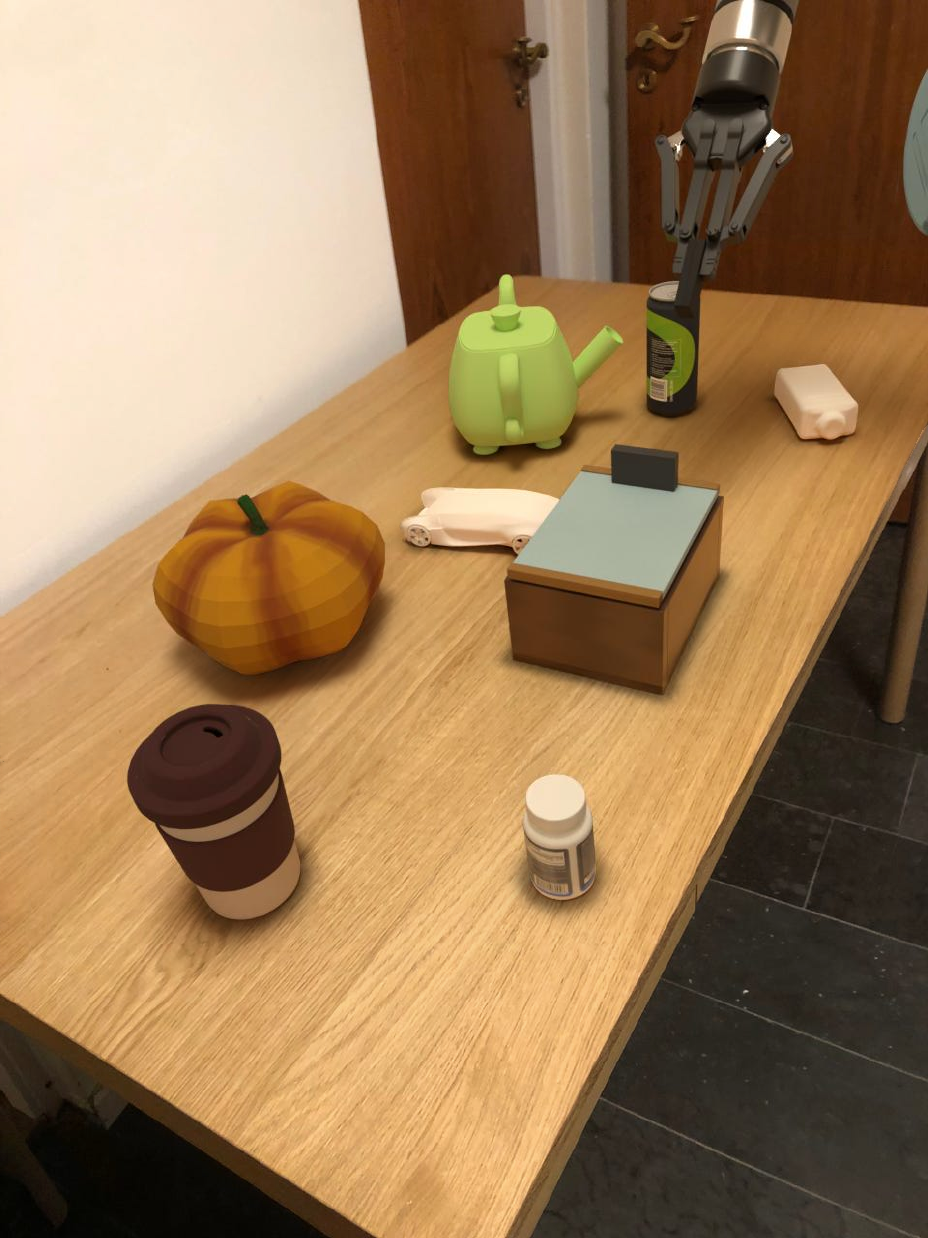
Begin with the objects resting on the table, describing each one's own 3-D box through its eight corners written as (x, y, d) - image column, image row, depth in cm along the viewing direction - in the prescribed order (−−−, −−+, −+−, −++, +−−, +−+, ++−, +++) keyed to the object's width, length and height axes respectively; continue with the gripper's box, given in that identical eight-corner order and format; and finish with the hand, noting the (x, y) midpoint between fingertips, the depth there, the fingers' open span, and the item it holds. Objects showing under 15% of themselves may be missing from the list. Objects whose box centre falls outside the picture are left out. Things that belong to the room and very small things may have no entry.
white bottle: (802, 448, 110) (806, 415, 107) (773, 399, 120) (776, 367, 117) (860, 442, 110) (865, 408, 107) (825, 393, 120) (830, 361, 117)
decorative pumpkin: (145, 697, 89) (87, 566, 80) (240, 560, 106) (201, 438, 96) (349, 714, 84) (312, 576, 75) (415, 567, 100) (392, 439, 91)
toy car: (399, 545, 104) (392, 509, 101) (426, 506, 110) (420, 472, 107) (560, 562, 98) (557, 525, 95) (579, 521, 104) (577, 484, 101)
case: (719, 575, 93) (724, 495, 88) (662, 695, 81) (663, 612, 76) (584, 551, 99) (580, 475, 94) (512, 659, 87) (503, 580, 82)
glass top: (719, 492, 88) (722, 450, 85) (658, 608, 76) (659, 564, 73) (584, 473, 93) (582, 433, 91) (507, 578, 81) (502, 536, 79)
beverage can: (703, 413, 119) (708, 294, 110) (654, 421, 119) (655, 303, 110) (687, 392, 124) (690, 276, 115) (640, 400, 124) (640, 285, 115)
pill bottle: (575, 837, 71) (569, 759, 66) (608, 884, 67) (605, 806, 62) (517, 863, 70) (507, 785, 64) (548, 912, 66) (539, 834, 61)
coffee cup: (202, 962, 66) (129, 821, 57) (175, 859, 74) (108, 720, 64) (336, 903, 69) (288, 758, 59) (298, 809, 76) (250, 668, 67)
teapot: (634, 463, 112) (633, 332, 102) (451, 479, 114) (433, 353, 104) (612, 372, 131) (610, 255, 122) (456, 388, 133) (441, 274, 123)
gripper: (815, 94, 91) (760, 333, 90) (680, 97, 96) (627, 323, 96) (809, 40, 84) (749, 298, 83) (664, 48, 90) (607, 290, 89)
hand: (684, 311), depth 89 cm, fingers closed
